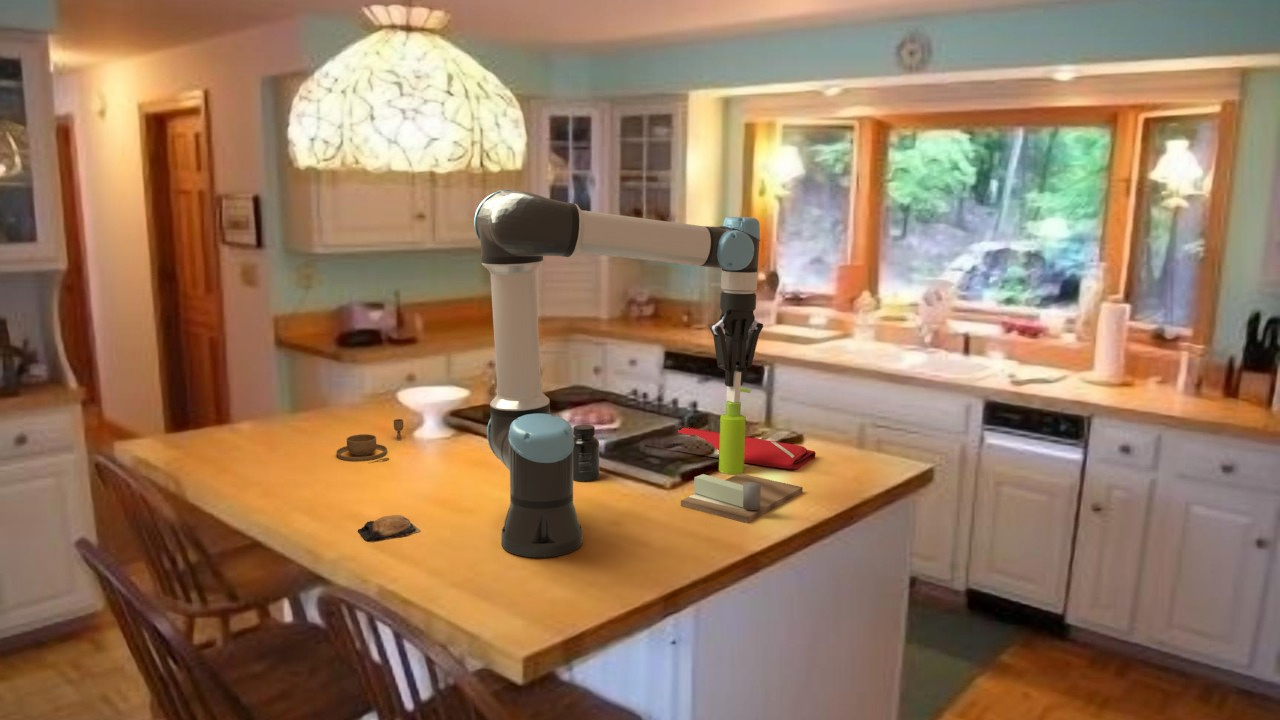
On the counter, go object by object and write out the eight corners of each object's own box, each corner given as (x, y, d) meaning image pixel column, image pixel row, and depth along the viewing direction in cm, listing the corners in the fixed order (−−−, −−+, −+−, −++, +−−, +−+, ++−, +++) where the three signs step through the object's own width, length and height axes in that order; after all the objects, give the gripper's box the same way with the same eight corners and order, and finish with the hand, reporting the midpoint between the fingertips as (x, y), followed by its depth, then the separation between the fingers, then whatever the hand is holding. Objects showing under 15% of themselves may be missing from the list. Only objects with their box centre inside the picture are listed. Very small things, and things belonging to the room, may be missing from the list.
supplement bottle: (604, 475, 217) (604, 425, 215) (590, 484, 211) (590, 432, 209) (578, 471, 220) (578, 421, 218) (563, 479, 214) (563, 428, 211)
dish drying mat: (672, 434, 255) (673, 421, 254) (816, 459, 234) (817, 445, 233) (642, 447, 241) (642, 433, 241) (791, 476, 220) (792, 460, 220)
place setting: (325, 452, 234) (324, 429, 233) (401, 439, 246) (400, 417, 245) (351, 470, 221) (350, 445, 220) (430, 455, 233) (429, 432, 232)
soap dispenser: (747, 475, 218) (750, 391, 215) (717, 473, 220) (719, 389, 216) (749, 468, 224) (752, 386, 220) (720, 466, 225) (722, 384, 222)
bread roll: (407, 522, 188) (406, 505, 187) (423, 535, 181) (422, 517, 180) (354, 533, 182) (353, 514, 181) (368, 547, 175) (368, 528, 174)
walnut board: (747, 523, 188) (747, 516, 188) (680, 505, 197) (680, 500, 197) (802, 492, 207) (802, 486, 207) (739, 478, 216) (739, 472, 216)
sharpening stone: (763, 507, 193) (764, 484, 192) (753, 511, 190) (754, 488, 190) (703, 489, 204) (704, 467, 203) (693, 493, 201) (693, 471, 200)
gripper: (750, 288, 204) (745, 394, 209) (703, 290, 197) (698, 400, 202) (774, 292, 198) (767, 401, 203) (725, 294, 191) (719, 407, 195)
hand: (732, 400), depth 202 cm, fingers closed
